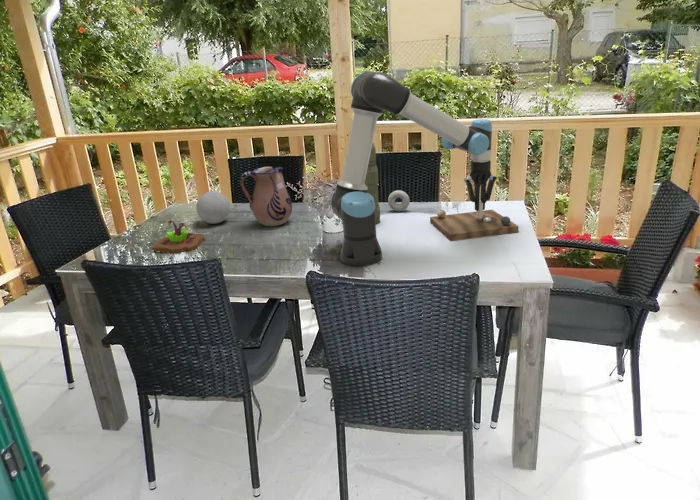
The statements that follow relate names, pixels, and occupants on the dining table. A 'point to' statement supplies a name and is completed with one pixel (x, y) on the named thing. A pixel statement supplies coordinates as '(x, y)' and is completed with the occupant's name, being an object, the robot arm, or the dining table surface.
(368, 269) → the dining table surface
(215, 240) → the dining table surface
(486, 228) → the walnut plate
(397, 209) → the donut
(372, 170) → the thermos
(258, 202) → the ceramic pitcher
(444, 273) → the dining table surface
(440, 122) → the robot arm
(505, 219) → the black rubber ball
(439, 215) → the beech ball
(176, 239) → the plant
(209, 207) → the decorative ball
